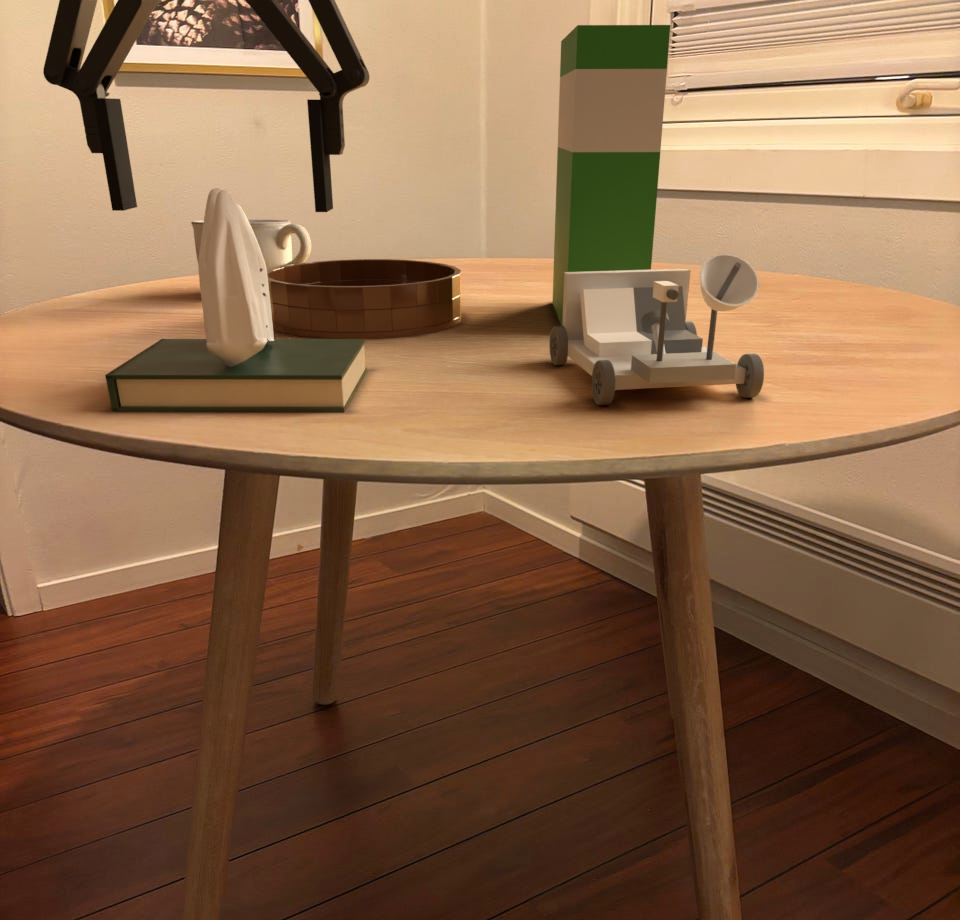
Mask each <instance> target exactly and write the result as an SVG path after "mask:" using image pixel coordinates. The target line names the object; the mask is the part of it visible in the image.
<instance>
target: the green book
mask: <svg viewBox="0 0 960 920" xmlns="http://www.w3.org/2000/svg"><path fill="white" fill-rule="evenodd" d="M206 344H207V340H206V338H161V339H159V340H157V341H156V342H154V343H153V344H151V345H150V346H148V347H146V348H145V349H143V350H141V352H139V353H137V354H135V355H134V356H132V357H131V358H129V359H128V360H126V361H125V362H123V363H122V364H119V366H117V367H115V368H113V369H112V370H111V371H109V372H108V373H106V374H104V377H105V380H106V386H107V392H108V397H109V402H110V407H111V408H110V409H111V412H113V413H116V412H117V413H126V412H127V413H134V412H135V413H139V412H140V413H166V412H167V413H345V412H346V410H347V408H348V406H349V404H350V402H351V401H352V399H353V397H354V396H355V394H356V392H357V390H358V388H359V386H360V385H361V383H362V381H363V379H364V377H365V376H366V374H367V371H368V368H367V367H366V354H365V353H366V352H365V344H366V339H325V338H274V341H269V340H268V342H266V344H265V346H264V348H263V349H262V350H261V351H259V352H258V353H256V354H255V355H253V356H252V357H250V358H248V359H247V360H245V361H243V362H241V363H239V364H237V365H235V366H233V367H229V366H228V365H227V364H225V363H224V362H222V361H221V360H219V359H218V358H215V357H213V356H212V354H211V353H210V352H209V351H208V349H207V346H206Z"/></svg>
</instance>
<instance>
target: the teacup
mask: <svg viewBox="0 0 960 920" xmlns="http://www.w3.org/2000/svg"><path fill="white" fill-rule="evenodd" d="M248 221H249V223H250V225H251V227H252V230H253V232H254V234H255V237H256V239H257V242H258V244H259V247H260V250H261V252H262V255H263V258H264V261H265V265H266V269H267V270H270V269H273V268H277V267H281V266H287V265H292V264H299V263H306V261H307V260H308V258H309V256H310V254H311V251H312V240H311V236H310V233H309V232H308V230H307V229H306V228H305V227H304V226H303V225H300V224H298V223H292V222H291V220H288V219H286V220H285V219H248ZM203 222H204V219H199V220H191V222H190V223H191V224H190V225H191V227H192V230H193V238H194V246H195V254H196V260H197V262H198V261H199V252H200V245H201V238H202V230H203ZM292 234H295V235H296V236H297V238H298V240H299V246H300V247H299V251H298V253H297V254H296V256H295V257H294V258H293V248H292Z"/></svg>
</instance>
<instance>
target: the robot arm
mask: <svg viewBox="0 0 960 920" xmlns="http://www.w3.org/2000/svg"><path fill="white" fill-rule="evenodd" d="M244 1H245V2H246V3H247V4H248V5H249V7H250V8H251V9H252V11H254V13H255V14H256V15H257V16H258V18H259V19H260V20H261V21H262V22H263V24H264V25H265V26H266V28H267V29H268V30H269V32H270V33H271V34H272V36H274V38H275V39H276V41H278V42H279V44H280V45H281V46H282V48H283V49H284V50H285V52H286V53H287V54H288V55H289V56H290V58H291V59H292V60H293V62H294V63H295V64H296V65H297V67H298V68H299V69H300V70H301V72H302V73H303V74H304V75H305V77H306V78H307V79H308V80H309V82H310V83H311V85H313V87H314V88H315V90H316V91H317V92H318V95H319V99H306V100H307V101H306V102H307V104H306V105H307V116H308V128H309V141H310V142H309V143H310V155H311V156H310V158H311V171H312V172H311V173H312V183H313V198H314V211H315V213H328V212H330V211H331V210H333V209H334V201H333V187H332V186H333V184H332V172H331V171H332V168H331V158H330V157H331V156H341V155H343V154H344V150H345V146H346V142H345V141H346V140H345V124H344V105H343V104H344V99H345V97H346V96H347V95H348V94H349V93H352V92H354V91H356V90H358V89H361V88H363V87H366V86H367V85H368V83H369V81H370V77H371V76H370V72H369V69H368V68H367V66H366V64H365V61H364V59H363V57H362V55H361V53H360V50H359V48H358V47H357V44H356V42H355V40H354V38H353V36H352V34H351V32H350V30H349V27H348V26H347V24H346V21H345V19H344V17H343V15H342V12H341V10H340V8H339V7H338V4H337V2H336V0H307V1H308V3H309V4H310V7H311V9H312V11H313V13H314V15H315V18H316V19H317V21H318V23H319V25H320V27H321V30H322V32H323V34H324V36H325V38H326V40H327V42H328V44H329V47H330V48H331V50H332V53H333V55H334V57H335V59H336V61H337V63H338V65H339V67H340V70H338V71H336V72H334V71H333V70H332V69H331V68H330V66H329V65H328V64H327V62H325V60H324V59H323V57H322V56H321V55H320V53H319V52H318V51H317V50H316V48H315V47H314V46H313V44H312V43H311V42H310V40H309V39H308V38H307V37H306V36H305V34H304V33H303V32H302V30H301V29H300V28H299V27H298V25H297V24H296V22H295V21H294V20H293V19H292V18H291V16H290V15H289V14H288V12H286V10H285V9H284V7H283V6H282V5H281V4H280V3H279V1H278V0H244ZM161 2H162V0H117V1H116V3H115V5H114V7H113V8H112V10H111V12H110V14H109V16H108V17H107V19H106V21H105V23H104V25H103V27H102V29H101V30H100V32H99V34H98V36H97V38H96V39H95V41H94V43H93V45H92V47H91V49H90V51H89V52H88V54H87V56H86V58H85V60H84V62H83V59H84V55H85V52H86V48H87V43H88V40H89V35H90V32H91V26H92V23H93V19H94V15H95V11H96V8H97V4H98V0H59V1H58V4H57V5H58V6H57V10H56V14H55V18H54V23H53V26H52V31H51V35H50V39H49V43H48V47H47V52H46V56H45V61H44V65H43V72H42V74H43V76H44V79H45V80H46V81H47V82H48V83H49V84H51V85H53V86H58V87H60V88H63V89H66V90H68V91H70V92H72V93H73V94H74V95H75V96H76V98H78V101H79V105H80V111H81V117H82V124H83V127H84V129H83V130H84V134H85V140H86V145H87V147H88V150H89V151H90V153H91V154H102V157H103V164H104V169H105V175H106V176H105V177H106V181H107V187H108V188H107V189H108V193H109V194H108V195H109V200H110V206H111V210H112V211H120V212H121V211H122V212H123V211H128V210H131V209H135V208H138V204H137V203H138V202H137V196H136V190H135V183H134V177H133V172H132V171H133V170H132V165H131V159H130V152H129V147H128V146H129V145H128V140H127V133H126V128H125V120H124V114H123V113H124V112H123V107H122V101H121V98H110V97H109V96H110V92H108V91H109V89H110V87H111V85H112V83H113V82H114V81H115V78H116V76H117V75H118V73H119V71H120V69H121V68H122V66H123V64H124V62H125V60H126V59H127V57H128V56H129V54H130V51H131V50H132V48H133V46H134V45H135V43H136V42H137V40H138V37H139V36H140V34H141V32H142V31H143V29H144V27H145V25H146V23H147V22H148V20H149V18H150V16H151V15H152V13H153V11H154V10H155V8H156V7H158V6H159V5H160V3H161ZM108 97H109V98H108Z"/></svg>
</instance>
